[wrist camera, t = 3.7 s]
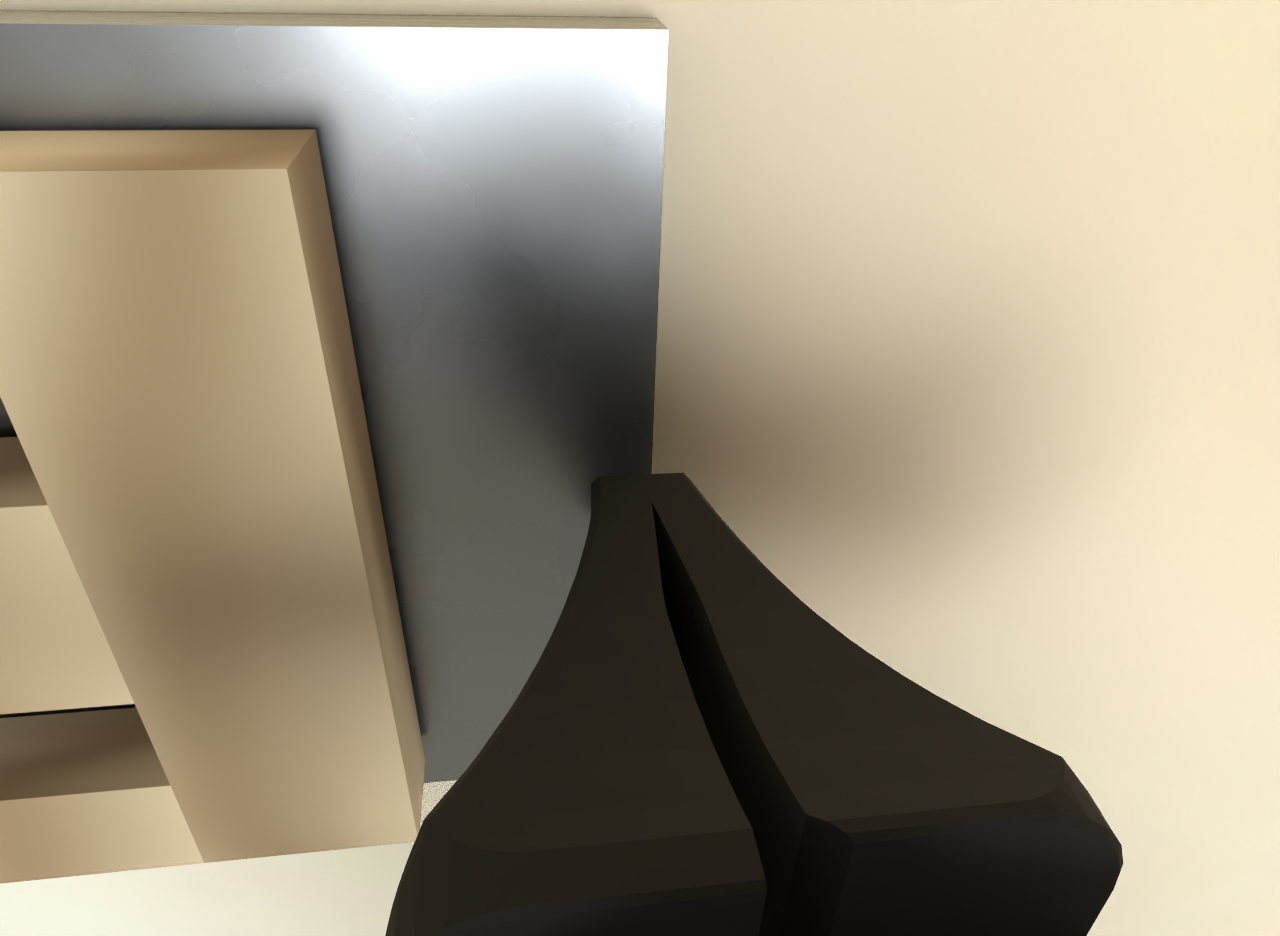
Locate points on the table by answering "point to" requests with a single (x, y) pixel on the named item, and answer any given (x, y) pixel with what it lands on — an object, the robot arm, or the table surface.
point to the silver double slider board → (437, 278)
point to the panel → (188, 515)
